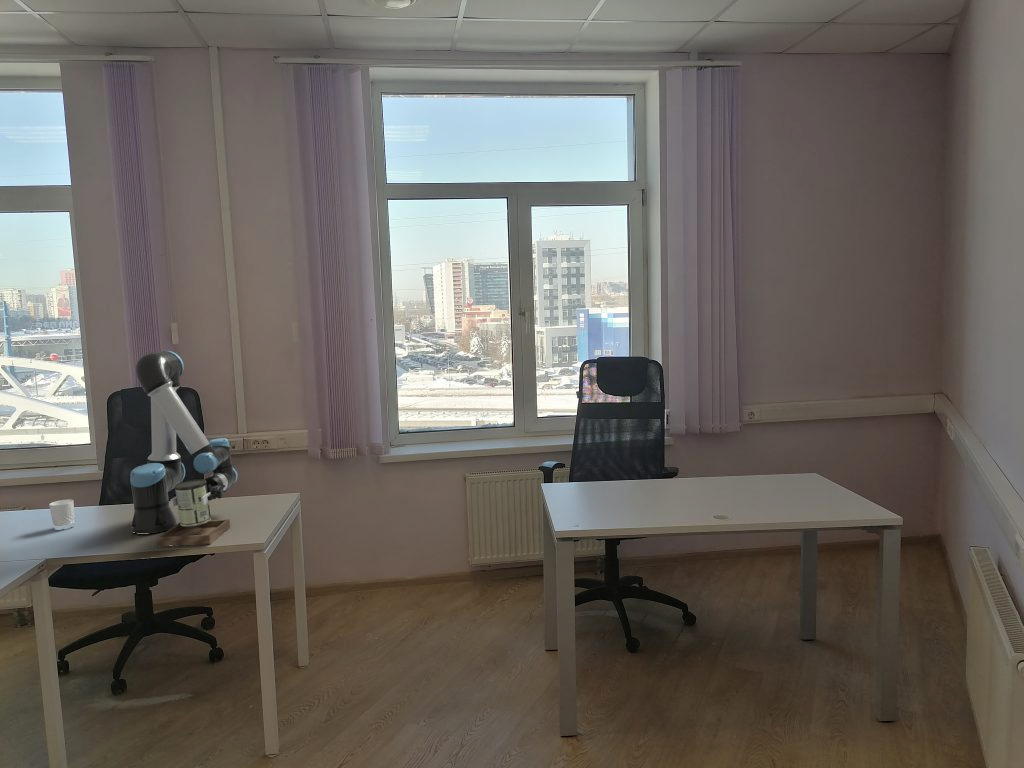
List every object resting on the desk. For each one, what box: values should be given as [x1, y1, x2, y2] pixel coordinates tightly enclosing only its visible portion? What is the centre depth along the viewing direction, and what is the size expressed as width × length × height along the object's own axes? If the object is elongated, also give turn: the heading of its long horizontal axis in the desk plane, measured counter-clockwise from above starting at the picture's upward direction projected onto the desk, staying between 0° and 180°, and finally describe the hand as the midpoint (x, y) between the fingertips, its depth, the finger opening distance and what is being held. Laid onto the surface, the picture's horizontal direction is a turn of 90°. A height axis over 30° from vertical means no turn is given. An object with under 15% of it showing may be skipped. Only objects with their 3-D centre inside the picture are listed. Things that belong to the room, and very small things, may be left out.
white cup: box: [48, 499, 76, 526], centre depth 287 cm, size 8×8×10 cm
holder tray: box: [156, 519, 231, 547], centre depth 267 cm, size 18×18×3 cm
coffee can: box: [174, 478, 212, 527], centre depth 265 cm, size 10×10×14 cm
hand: (187, 502), depth 261 cm, fingers closed on coffee can, 10 cm apart
